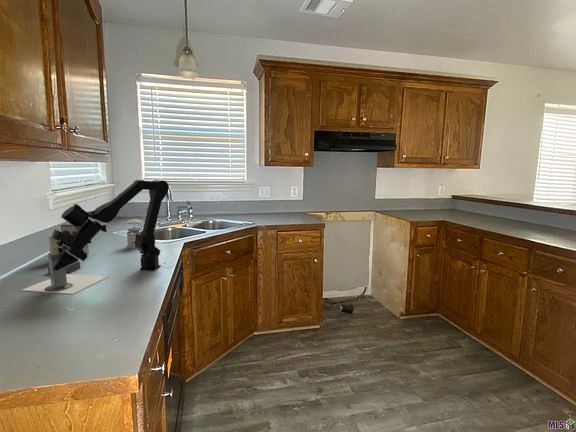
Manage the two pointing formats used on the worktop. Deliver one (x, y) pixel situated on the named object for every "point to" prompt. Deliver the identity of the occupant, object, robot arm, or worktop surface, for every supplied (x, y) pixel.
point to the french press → (133, 231)
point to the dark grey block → (60, 275)
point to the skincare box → (52, 245)
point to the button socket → (70, 267)
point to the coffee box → (71, 228)
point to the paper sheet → (72, 287)
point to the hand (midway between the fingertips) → (53, 268)
